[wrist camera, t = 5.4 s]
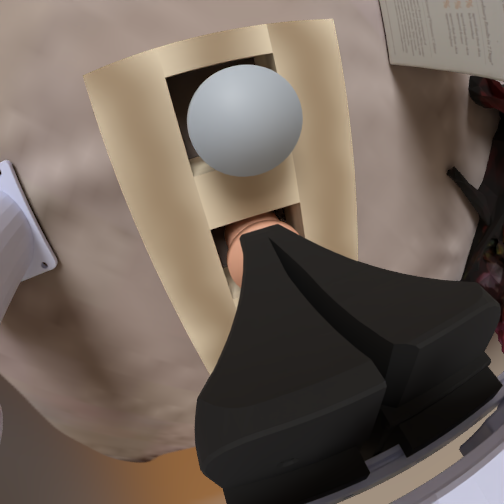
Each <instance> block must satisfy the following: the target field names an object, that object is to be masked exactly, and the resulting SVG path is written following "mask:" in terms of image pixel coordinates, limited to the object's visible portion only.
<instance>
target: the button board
mask: <svg viewBox="0 0 504 504" xmlns="http://www.w3.org/2000/svg"><path fill="white" fill-rule="evenodd" d="M252 57H254V62H255V65H257V66H262V67H265V68H268V69H270V70H273V71H274V72H276V73H278V74H279V75H281V76H282V77H283V78H285V79H286V80H287V81H288V82H289V83H290V85H291V86H292V87H293V89H294V90H295V92H296V94H297V96H298V98H299V101H300V103H301V108H302V115H303V124H302V130H301V134H300V137H299V140H298V142H297V144H296V146H295V148H294V149H293V151H292V152H291V153H290V155H289V156H288V157H287V158H286V159H285V160H284V161H283V162H282V163H281V164H279V165H278V166H276V167H275V168H273V169H271V170H269V171H267V172H265V173H262V174H259V175H255V176H247V177H238V176H231V175H228V174H224V173H222V172H219V171H217V170H215V169H214V168H212V167H210V166H209V165H208V164H207V163H205V162H204V161H203V159H202V158H201V157H200V156H198V157H195V158H192V159H189V158H188V155H187V151H186V148H185V145H184V141H183V138H182V134H181V131H180V127H179V124H178V120H177V117H176V113H175V110H174V106H173V103H172V99H171V96H170V92H169V88H168V85H167V81H166V78H170V77H173V76H176V75H180V74H183V73H187V72H190V71H194V70H198V69H202V68H206V67H210V66H214V65H218V64H223V63H227V62H232V61H237V60H242V59H247V58H252ZM83 78H84V81H85V85H86V88H87V91H88V95H89V98H90V101H91V105H92V108H93V111H94V114H95V117H96V120H97V123H98V126H99V129H100V132H101V135H102V138H103V141H104V144H105V147H106V150H107V152H108V155H109V158H110V161H111V163H112V166H113V169H114V171H115V174H116V177H117V179H118V182H119V185H120V187H121V190H122V192H123V195H124V197H125V200H126V202H127V205H128V207H129V210H130V212H131V214H132V217H133V219H134V222H135V224H136V226H137V229H138V231H139V233H140V236H141V238H142V240H143V243H144V245H145V247H146V249H147V252H148V254H149V256H150V258H151V260H152V263H153V265H154V267H155V269H156V271H157V273H158V275H159V278H160V280H161V282H162V284H163V286H164V288H165V290H166V292H167V294H168V296H169V298H170V300H171V302H172V304H173V306H174V308H175V310H176V312H177V314H178V316H179V318H180V320H181V322H182V324H183V326H184V328H185V330H186V332H187V334H188V335H189V337H190V339H191V341H192V343H193V345H194V347H195V348H196V350H197V352H198V354H199V356H200V358H201V359H202V361H203V363H204V365H205V367H206V368H207V370H208V372H209V374H210V375H211V373H212V372H213V370H214V368H215V366H216V364H217V361H218V359H219V357H220V355H221V352H222V350H223V348H224V345H225V343H226V341H227V338H228V336H229V333H230V330H231V327H232V324H233V320H234V317H235V314H236V310H237V306H238V301H239V297H240V291H241V288H240V287H239V286H238V285H237V284H236V283H235V282H234V281H233V279H232V277H231V275H230V272H229V269H228V266H227V267H224V268H223V267H222V264H221V261H220V258H219V255H218V252H217V248H216V245H215V242H214V239H213V236H212V233H211V229H214V228H217V227H221V226H224V225H227V224H230V223H233V222H236V221H240V220H243V219H246V218H249V217H253V216H256V215H259V214H262V213H266V212H269V211H272V210H276V209H279V208H282V207H284V212H285V217H286V223H287V224H289V225H291V226H292V227H293V228H294V229H295V230H296V231H297V232H298V234H299V235H300V236H302V237H304V238H306V239H308V240H310V241H312V242H314V243H316V244H318V245H320V246H322V247H324V248H326V249H329V250H331V251H333V252H336V253H338V254H340V255H343V256H345V257H348V258H350V259H353V260H356V261H358V235H357V206H356V187H355V172H354V159H353V148H352V138H351V128H350V119H349V111H348V103H347V96H346V89H345V82H344V75H343V69H342V63H341V57H340V51H339V46H338V41H337V35H336V30H335V26H334V21H333V19H319V20H302V21H290V22H280V23H271V24H263V25H256V26H249V27H243V28H237V29H232V30H226V31H221V32H216V33H212V34H207V35H203V36H198V37H194V38H190V39H186V40H182V41H179V42H175V43H171V44H168V45H164V46H161V47H158V48H155V49H151V50H148V51H145V52H142V53H139V54H136V55H133V56H131V57H128V58H125V59H122V60H120V61H117V62H114V63H112V64H109V65H107V66H104V67H102V68H99V69H97V70H95V71H92V72H90V73H88V74H85V75H83Z"/></svg>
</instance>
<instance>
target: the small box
mask: <svg viewBox="0 0 504 504" xmlns="http://www.w3.org/2000/svg"><path fill="white" fill-rule="evenodd" d="M379 1H380V6H381V11H382V16H383V21H384V27H385V33H386V39H387V45H388V52H389V60H390V64H391V65H400V66H411V67H420V68H428V69H435V70H443V71H450V72H457V73H463V74H469V75H475V76H480V77H485V78H490V79H494V80H499V81H503V82H504V0H379Z"/></svg>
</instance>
